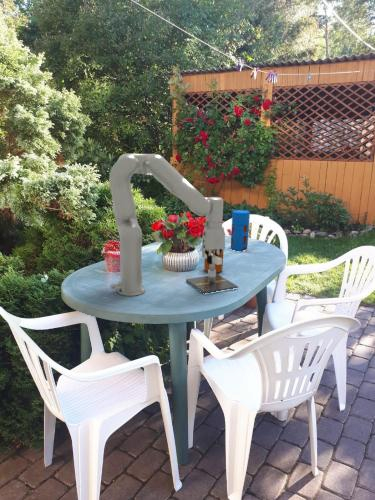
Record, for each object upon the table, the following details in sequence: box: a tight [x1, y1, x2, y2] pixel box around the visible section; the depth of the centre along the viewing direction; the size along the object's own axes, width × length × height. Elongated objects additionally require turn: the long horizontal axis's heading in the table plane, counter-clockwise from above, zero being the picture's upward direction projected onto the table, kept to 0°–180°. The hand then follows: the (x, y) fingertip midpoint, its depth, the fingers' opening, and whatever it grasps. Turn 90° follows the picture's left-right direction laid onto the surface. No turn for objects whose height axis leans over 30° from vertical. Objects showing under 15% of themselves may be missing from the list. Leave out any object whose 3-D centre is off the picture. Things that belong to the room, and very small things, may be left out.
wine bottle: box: [203, 249, 224, 274], centre depth 195 cm, size 10×10×30 cm
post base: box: [185, 269, 239, 294], centre depth 177 cm, size 18×18×8 cm
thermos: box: [230, 209, 251, 252], centre depth 239 cm, size 11×11×25 cm
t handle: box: [201, 251, 222, 270], centre depth 175 cm, size 3×14×7 cm, turn 26°
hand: (212, 262), depth 175 cm, fingers closed on t handle, 2 cm apart
